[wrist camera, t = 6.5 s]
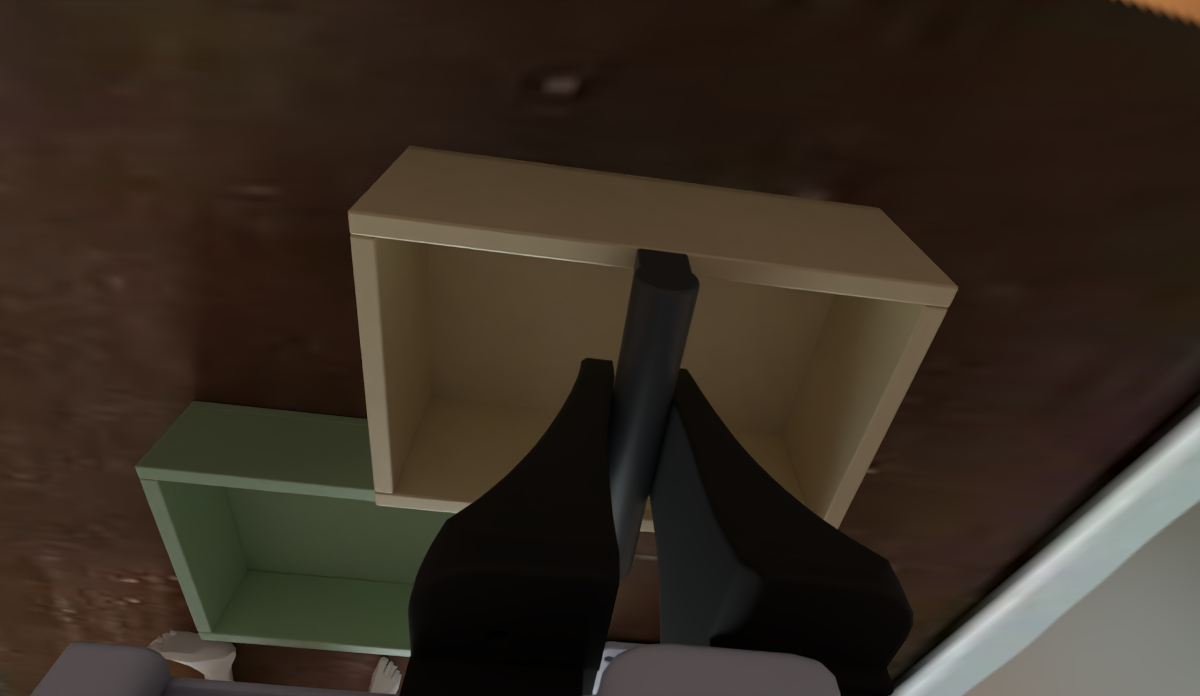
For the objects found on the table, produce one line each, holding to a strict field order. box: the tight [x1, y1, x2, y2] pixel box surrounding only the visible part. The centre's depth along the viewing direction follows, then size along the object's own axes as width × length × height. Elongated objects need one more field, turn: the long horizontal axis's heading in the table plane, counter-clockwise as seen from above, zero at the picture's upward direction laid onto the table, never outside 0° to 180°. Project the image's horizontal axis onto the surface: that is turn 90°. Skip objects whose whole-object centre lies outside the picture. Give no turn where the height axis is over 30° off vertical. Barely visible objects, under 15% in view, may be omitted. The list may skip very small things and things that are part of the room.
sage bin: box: [135, 401, 456, 657], centre depth 26 cm, size 10×14×4 cm
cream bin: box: [348, 146, 958, 581], centre depth 15 cm, size 8×12×6 cm, turn 83°
